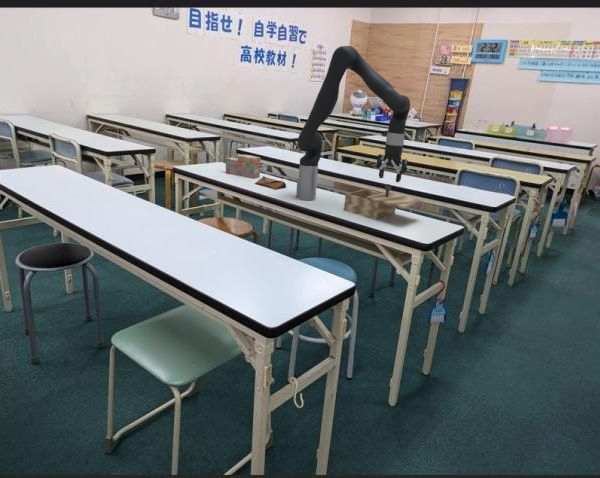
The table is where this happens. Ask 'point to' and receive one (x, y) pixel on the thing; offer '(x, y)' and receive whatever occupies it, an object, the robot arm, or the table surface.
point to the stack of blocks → (244, 166)
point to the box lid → (394, 199)
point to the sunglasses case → (271, 183)
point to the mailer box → (366, 205)
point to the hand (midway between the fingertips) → (389, 179)
